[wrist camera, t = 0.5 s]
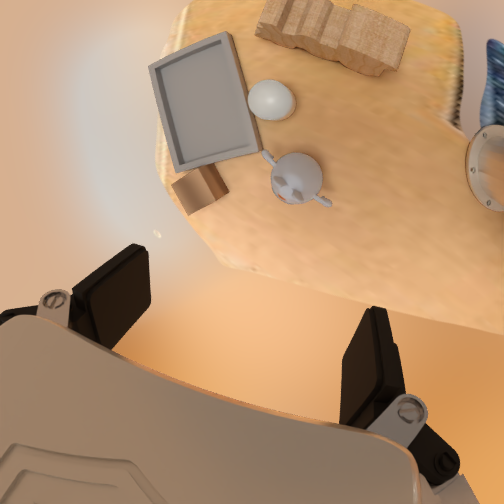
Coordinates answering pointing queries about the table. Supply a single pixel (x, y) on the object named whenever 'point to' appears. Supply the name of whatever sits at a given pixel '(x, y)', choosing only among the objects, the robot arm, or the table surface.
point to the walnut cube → (200, 188)
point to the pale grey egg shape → (271, 100)
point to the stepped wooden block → (336, 33)
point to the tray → (204, 104)
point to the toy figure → (296, 178)
